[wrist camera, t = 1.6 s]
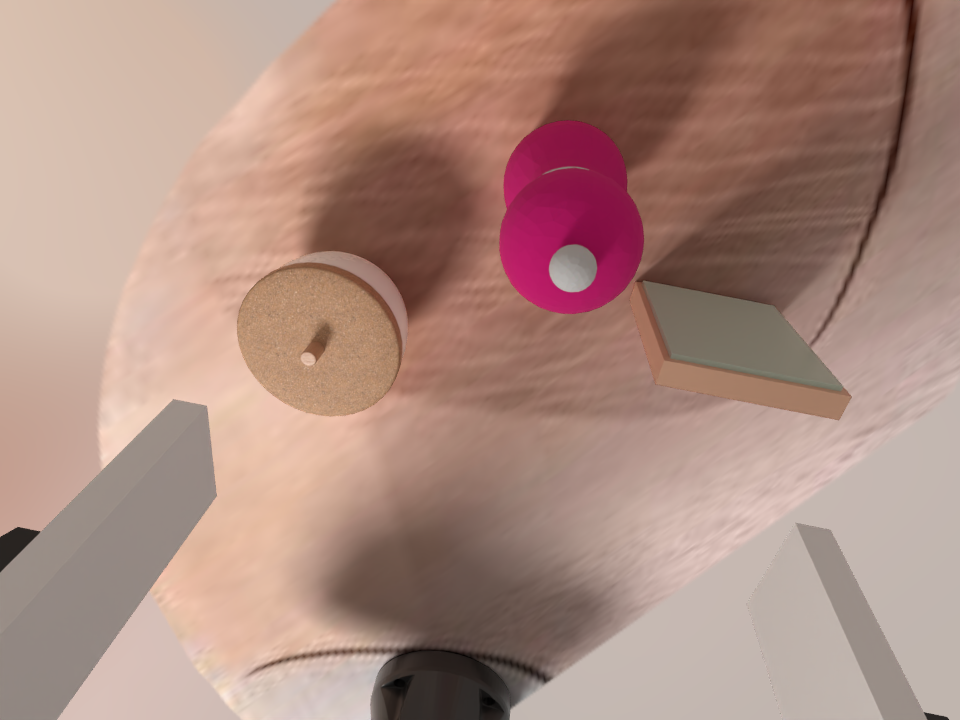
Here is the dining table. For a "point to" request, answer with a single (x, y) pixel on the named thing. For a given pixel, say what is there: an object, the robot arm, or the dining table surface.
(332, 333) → the lidded jar
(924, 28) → the dining table surface
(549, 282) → the pepper mill
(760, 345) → the tile
